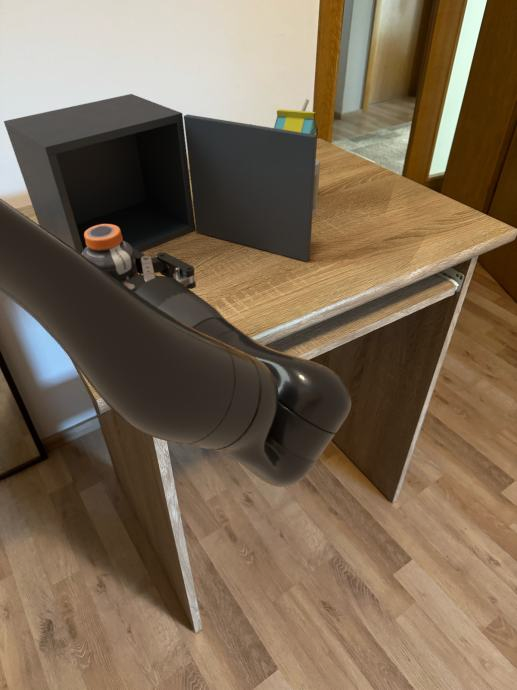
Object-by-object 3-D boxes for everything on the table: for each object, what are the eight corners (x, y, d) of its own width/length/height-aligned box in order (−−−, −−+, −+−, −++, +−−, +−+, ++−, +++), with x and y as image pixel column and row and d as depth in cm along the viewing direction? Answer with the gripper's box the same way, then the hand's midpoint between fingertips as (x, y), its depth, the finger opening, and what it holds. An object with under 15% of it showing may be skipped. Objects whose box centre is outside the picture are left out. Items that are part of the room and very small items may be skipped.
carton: (316, 193, 101) (322, 99, 90) (306, 209, 96) (311, 111, 84) (281, 189, 103) (283, 96, 91) (270, 204, 98) (270, 108, 86)
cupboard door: (214, 218, 93) (205, 105, 80) (322, 245, 85) (332, 124, 72) (196, 232, 89) (183, 115, 76) (307, 261, 81) (314, 136, 68)
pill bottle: (153, 315, 61) (137, 233, 54) (108, 332, 58) (84, 249, 51) (134, 293, 65) (116, 214, 57) (90, 308, 62) (67, 227, 55)
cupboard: (195, 230, 90) (182, 112, 77) (83, 274, 79) (45, 147, 66) (150, 202, 99) (131, 93, 86) (43, 239, 88) (3, 121, 75)
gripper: (232, 270, 50) (147, 216, 60) (107, 328, 43) (34, 256, 53) (235, 326, 55) (157, 268, 65) (123, 387, 48) (53, 311, 58)
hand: (102, 263), depth 59 cm, fingers closed on pill bottle, 6 cm apart
